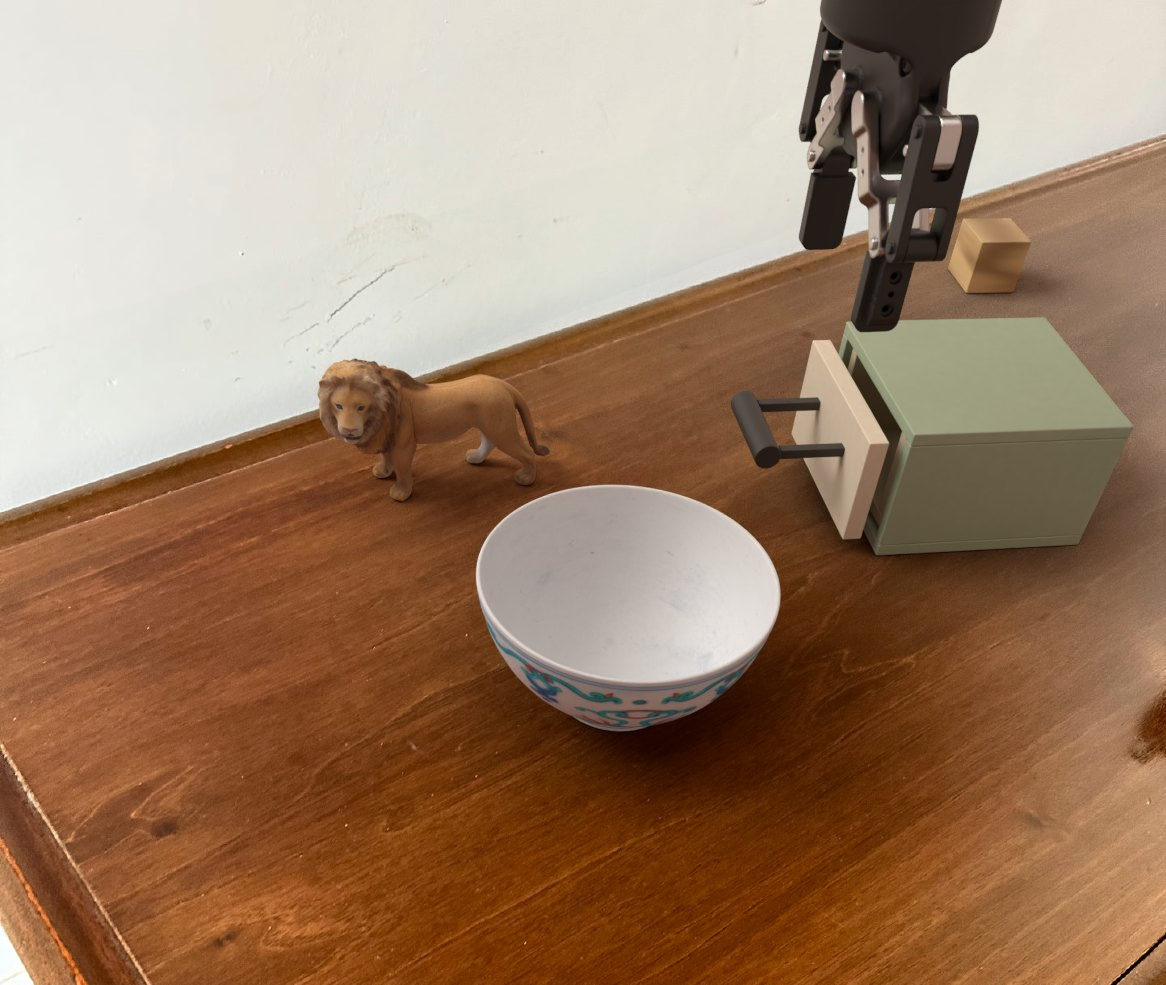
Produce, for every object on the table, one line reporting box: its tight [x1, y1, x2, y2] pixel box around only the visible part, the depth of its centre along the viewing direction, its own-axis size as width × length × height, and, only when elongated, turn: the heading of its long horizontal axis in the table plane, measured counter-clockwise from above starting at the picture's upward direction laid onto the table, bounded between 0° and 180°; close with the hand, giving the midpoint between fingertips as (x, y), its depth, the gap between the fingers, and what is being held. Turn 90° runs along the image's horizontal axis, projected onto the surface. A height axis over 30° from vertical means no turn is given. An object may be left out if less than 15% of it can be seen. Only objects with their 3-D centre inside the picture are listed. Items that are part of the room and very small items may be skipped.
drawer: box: [730, 339, 907, 540], centre depth 74 cm, size 18×11×7 cm, turn 100°
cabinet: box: [838, 316, 1134, 556], centre depth 75 cm, size 14×13×9 cm
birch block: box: [947, 217, 1032, 294], centre depth 97 cm, size 4×4×4 cm
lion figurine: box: [316, 357, 551, 502], centre depth 72 cm, size 15×5×9 cm, turn 115°
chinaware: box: [475, 484, 782, 732], centre depth 61 cm, size 15×15×8 cm
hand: (844, 285), depth 61 cm, fingers open, 8 cm apart
